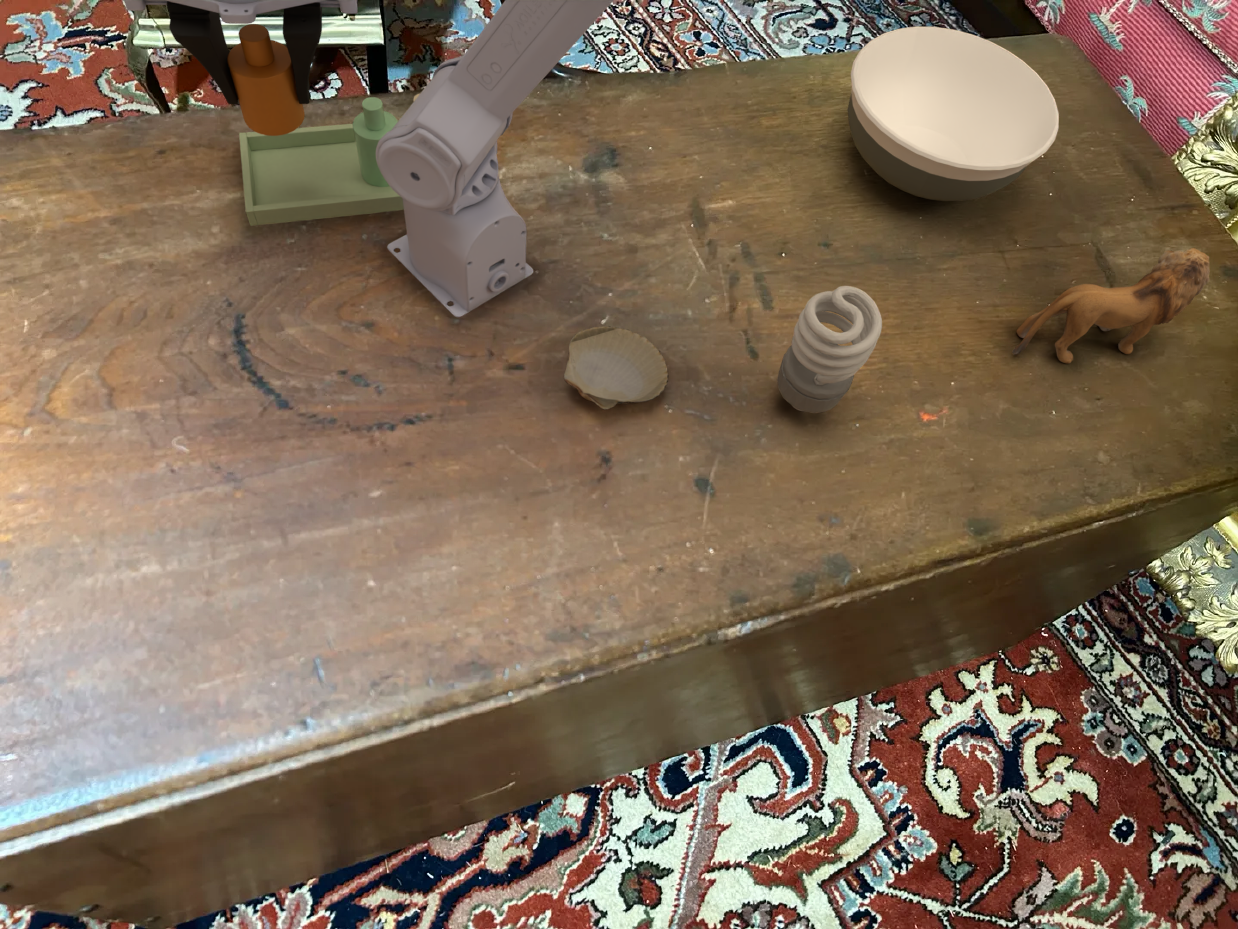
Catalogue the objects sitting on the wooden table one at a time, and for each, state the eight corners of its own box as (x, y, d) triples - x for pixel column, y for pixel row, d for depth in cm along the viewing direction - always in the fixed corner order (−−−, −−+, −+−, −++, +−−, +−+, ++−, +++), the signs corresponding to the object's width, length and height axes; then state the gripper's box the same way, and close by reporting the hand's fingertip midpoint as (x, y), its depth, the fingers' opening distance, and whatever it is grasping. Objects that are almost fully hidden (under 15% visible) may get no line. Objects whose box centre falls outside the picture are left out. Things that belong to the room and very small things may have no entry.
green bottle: (412, 175, 78) (404, 107, 72) (377, 193, 76) (366, 125, 70) (387, 151, 79) (377, 82, 73) (352, 168, 77) (339, 99, 71)
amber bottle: (315, 123, 69) (298, 41, 63) (260, 143, 67) (237, 60, 61) (287, 89, 70) (268, 5, 64) (233, 108, 68) (208, 23, 62)
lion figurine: (1130, 300, 80) (1196, 226, 73) (1166, 346, 78) (1239, 275, 70) (993, 334, 77) (1048, 261, 69) (1027, 384, 74) (1088, 314, 66)
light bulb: (838, 437, 70) (896, 341, 59) (767, 432, 69) (812, 334, 59) (831, 377, 72) (885, 276, 62) (762, 372, 72) (805, 269, 62)
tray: (467, 132, 82) (467, 113, 80) (486, 205, 78) (486, 187, 76) (244, 152, 78) (238, 132, 76) (251, 230, 73) (245, 211, 72)
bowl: (865, 248, 80) (900, 176, 73) (797, 106, 89) (822, 29, 82) (1049, 227, 84) (1099, 157, 77) (965, 93, 93) (1004, 19, 86)
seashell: (671, 392, 72) (606, 317, 73) (689, 372, 70) (621, 296, 70) (603, 443, 67) (534, 363, 68) (619, 424, 65) (547, 341, 66)
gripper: (83, -58, 52) (158, 133, 64) (345, -51, 55) (371, 131, 66) (98, -127, 55) (166, 67, 67) (343, -117, 58) (368, 67, 70)
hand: (268, 94), depth 67 cm, fingers closed on amber bottle, 4 cm apart
